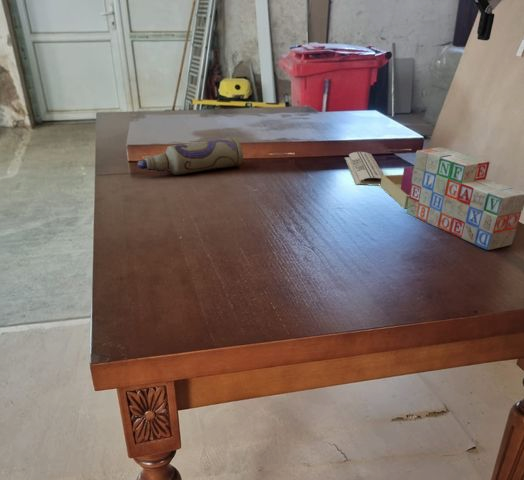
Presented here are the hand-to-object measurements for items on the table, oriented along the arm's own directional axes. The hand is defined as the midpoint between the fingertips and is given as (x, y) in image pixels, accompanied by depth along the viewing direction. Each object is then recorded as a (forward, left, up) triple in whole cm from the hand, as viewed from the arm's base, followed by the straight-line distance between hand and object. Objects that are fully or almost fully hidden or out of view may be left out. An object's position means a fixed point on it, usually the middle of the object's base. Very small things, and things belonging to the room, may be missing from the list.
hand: (508, 39), depth 94 cm
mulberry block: (+10, -6, -29) cm, 31 cm away
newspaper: (+15, -26, -30) cm, 42 cm away
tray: (+9, -6, -30) cm, 32 cm away
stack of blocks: (+9, +13, -30) cm, 34 cm away
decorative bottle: (+57, -31, -30) cm, 71 cm away
